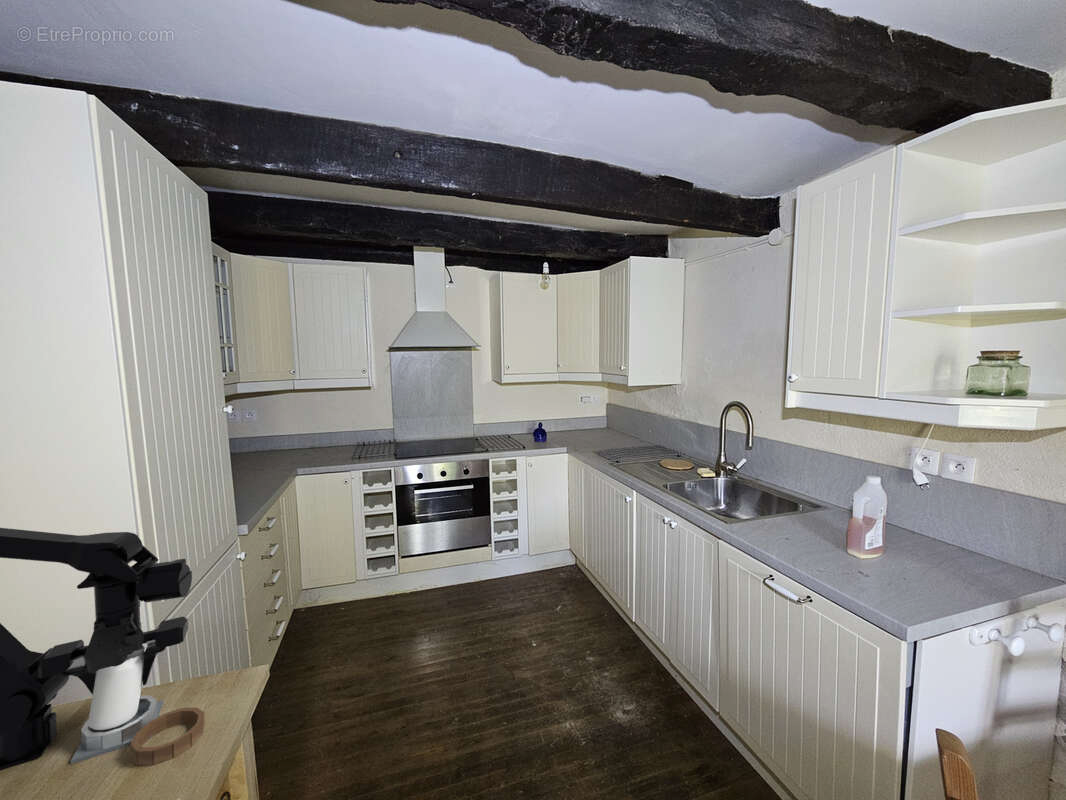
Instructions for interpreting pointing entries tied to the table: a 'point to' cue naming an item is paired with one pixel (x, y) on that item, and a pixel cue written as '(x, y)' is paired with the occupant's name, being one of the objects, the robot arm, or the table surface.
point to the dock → (116, 732)
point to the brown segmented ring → (172, 748)
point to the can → (117, 693)
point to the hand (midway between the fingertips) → (121, 690)
